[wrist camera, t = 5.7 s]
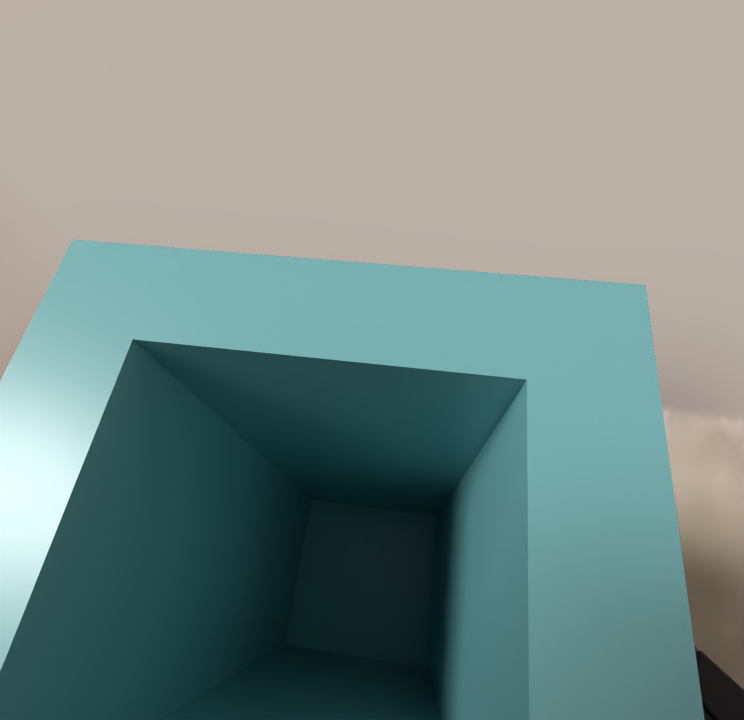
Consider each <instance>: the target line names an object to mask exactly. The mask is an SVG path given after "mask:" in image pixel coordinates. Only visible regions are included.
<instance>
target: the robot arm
mask: <svg viewBox="0 0 744 720" xmlns="http://www.w3.org/2000/svg"><path fill="white" fill-rule="evenodd" d="M694 646H695V645H694ZM696 651H697V647H696V646H695V653H696V660H697V668H698V675H699V682H700V690H701V697H702V704H703V712H704V719H705V720H744V689H743V688H742V687H741V686H739V685H738V684H737V683H736V682H735V681H734V680H733V679H732V678H731V677H729V676H728V675H727V674H726V673H725V672H724V671H723V670H722V669H721V668H719V667H718V666H717V665H716V664H715V663H714V662H713V661H712V660H711V659H710V658H709V657H708V656H706V655H705V654H704V653H703V652H702V651H700V650H698V651H697V652H696Z"/></svg>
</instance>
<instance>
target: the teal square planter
mask: <svg viewBox="0 0 744 720" xmlns="http://www.w3.org/2000/svg"><path fill="white" fill-rule="evenodd" d="M0 720H705V719H704V712H703V704H702V697H701V690H700V682H699V675H698V668H697V660H696V653H695V646H694V638H693V631H692V623H691V616H690V609H689V601H688V594H687V587H686V579H685V572H684V565H683V557H682V550H681V543H680V535H679V528H678V521H677V513H676V506H675V499H674V491H673V484H672V477H671V469H670V462H669V455H668V447H667V440H666V432H665V425H664V418H663V410H662V403H661V396H660V388H659V381H658V374H657V367H656V359H655V352H654V344H653V337H652V330H651V322H650V315H649V308H648V300H647V293H646V286H645V285H638V284H627V283H614V282H601V281H589V280H576V279H563V278H551V277H538V276H525V275H512V274H500V273H488V272H474V271H461V270H450V269H436V268H425V267H412V266H399V265H386V264H374V263H361V262H349V261H336V260H323V259H310V258H299V257H286V256H273V255H261V254H248V253H235V252H222V251H210V250H198V249H185V248H172V247H160V246H147V245H134V244H122V243H109V242H96V241H84V240H73V241H72V242H71V244H70V246H69V248H68V250H67V252H66V254H65V256H64V258H63V260H62V262H61V264H60V266H59V268H58V270H57V272H56V274H55V276H54V277H53V279H52V281H51V284H50V285H49V287H48V289H47V291H46V293H45V295H44V297H43V299H42V301H41V303H40V305H39V307H38V309H37V311H36V313H35V315H34V317H33V318H32V320H31V323H30V325H29V326H28V328H27V330H26V332H25V334H24V336H23V338H22V340H21V342H20V344H19V346H18V348H17V350H16V352H15V354H14V356H13V357H12V360H11V361H10V363H9V365H8V367H7V369H6V371H5V373H4V375H3V377H2V379H1V381H0Z"/></svg>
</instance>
